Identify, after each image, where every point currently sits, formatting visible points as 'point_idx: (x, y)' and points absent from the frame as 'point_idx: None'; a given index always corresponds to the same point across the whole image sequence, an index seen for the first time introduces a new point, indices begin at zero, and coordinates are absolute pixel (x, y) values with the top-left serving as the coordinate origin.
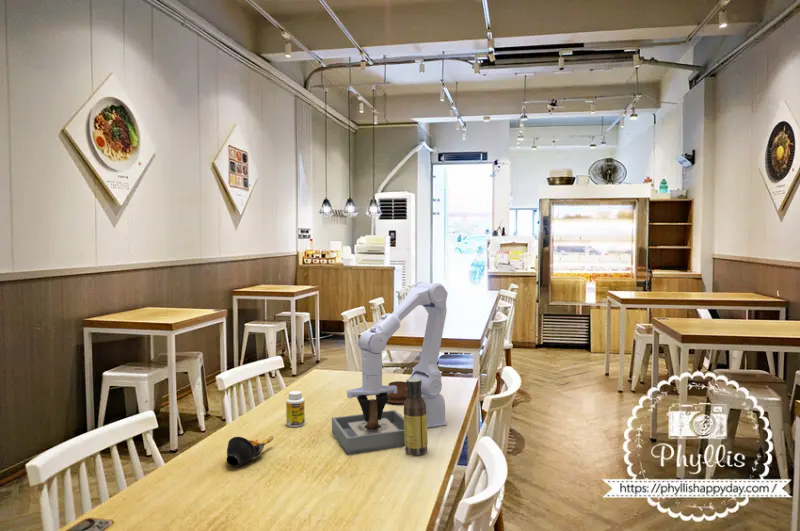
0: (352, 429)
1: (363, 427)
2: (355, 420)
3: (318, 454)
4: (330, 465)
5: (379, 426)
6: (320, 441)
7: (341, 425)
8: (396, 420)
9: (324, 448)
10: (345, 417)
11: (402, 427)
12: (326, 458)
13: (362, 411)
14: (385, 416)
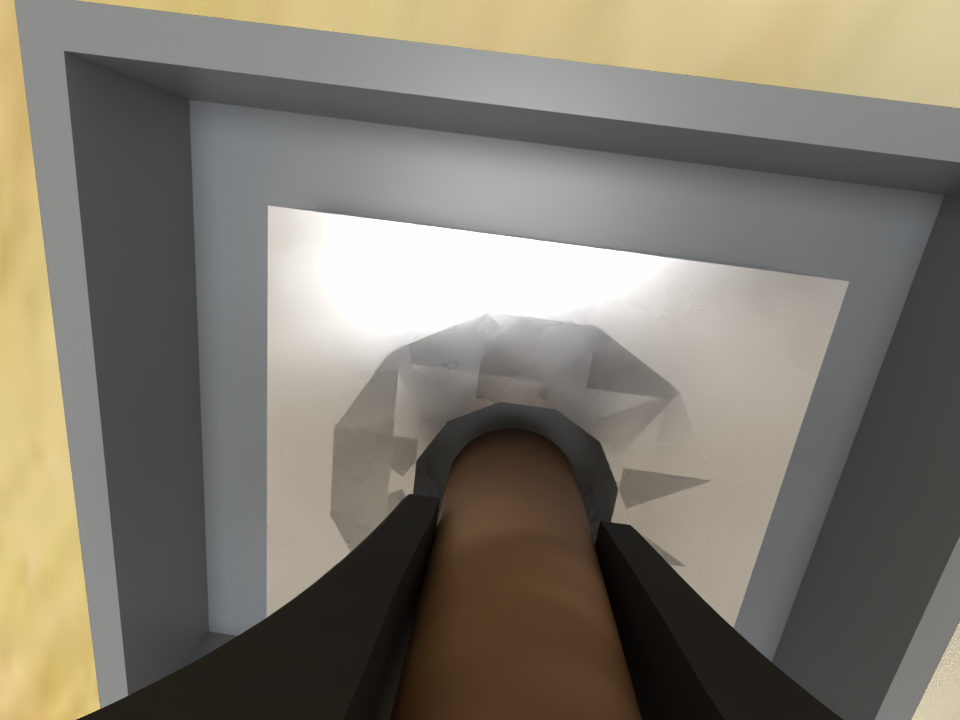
0: (269, 454)
1: (402, 472)
2: (428, 112)
3: (5, 516)
4: (70, 699)
5: (610, 473)
6: (39, 264)
7: (243, 99)
8: (949, 328)
9: (60, 433)
10: (246, 73)
11: (859, 514)
12: (56, 601)
13: (349, 556)
14: (907, 170)
